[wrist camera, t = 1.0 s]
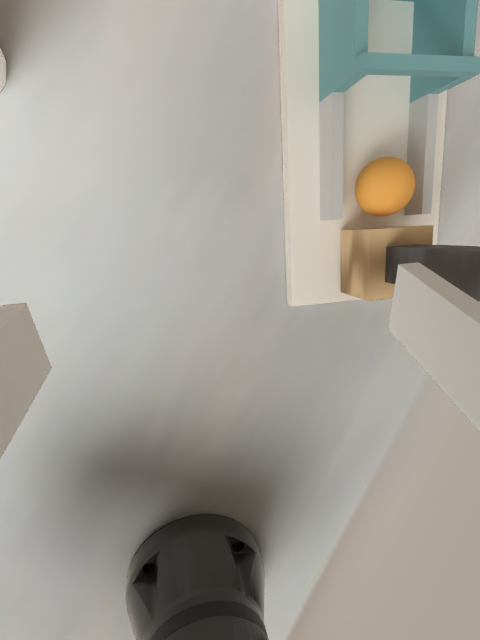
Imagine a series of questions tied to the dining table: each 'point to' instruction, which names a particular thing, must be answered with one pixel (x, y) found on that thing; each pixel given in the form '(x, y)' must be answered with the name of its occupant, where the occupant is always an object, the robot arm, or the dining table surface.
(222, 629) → the robot arm
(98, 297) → the dining table surface
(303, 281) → the board
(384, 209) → the ball
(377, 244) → the block
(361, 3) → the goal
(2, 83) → the foam cup
